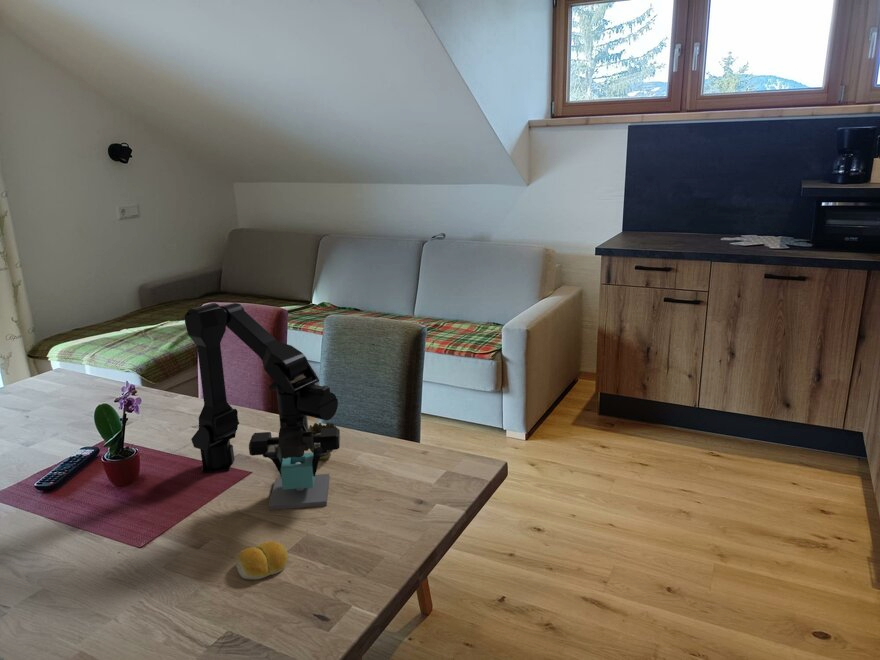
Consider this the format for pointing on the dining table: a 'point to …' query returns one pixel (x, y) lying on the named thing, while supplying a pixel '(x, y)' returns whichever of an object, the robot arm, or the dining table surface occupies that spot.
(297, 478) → the teal block with hole
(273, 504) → the post stand
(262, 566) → the bread roll
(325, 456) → the cup
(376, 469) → the dining table surface
